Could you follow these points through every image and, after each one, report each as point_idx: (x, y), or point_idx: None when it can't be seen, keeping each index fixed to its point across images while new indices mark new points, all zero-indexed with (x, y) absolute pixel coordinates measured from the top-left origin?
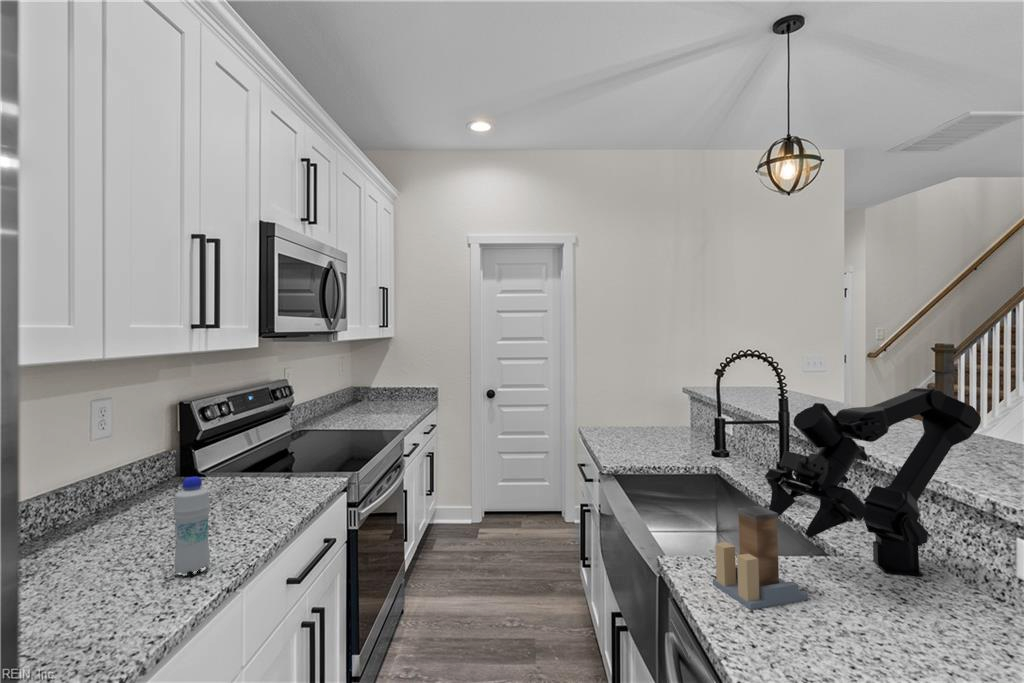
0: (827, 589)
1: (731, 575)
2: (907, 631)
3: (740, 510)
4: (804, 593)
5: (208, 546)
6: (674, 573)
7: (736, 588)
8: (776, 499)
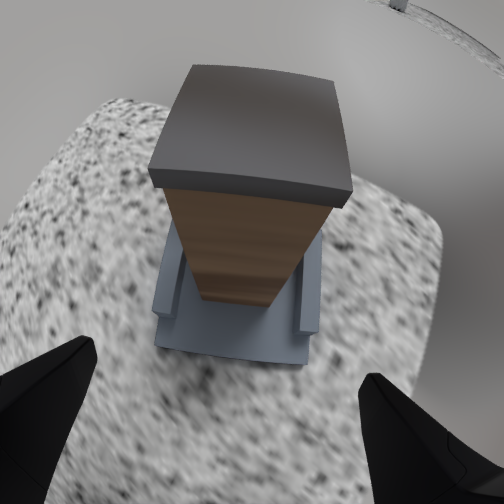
0: (178, 440)
1: None
2: None
3: (308, 79)
4: (160, 340)
5: (403, 1)
6: (375, 189)
7: None
8: (433, 462)
